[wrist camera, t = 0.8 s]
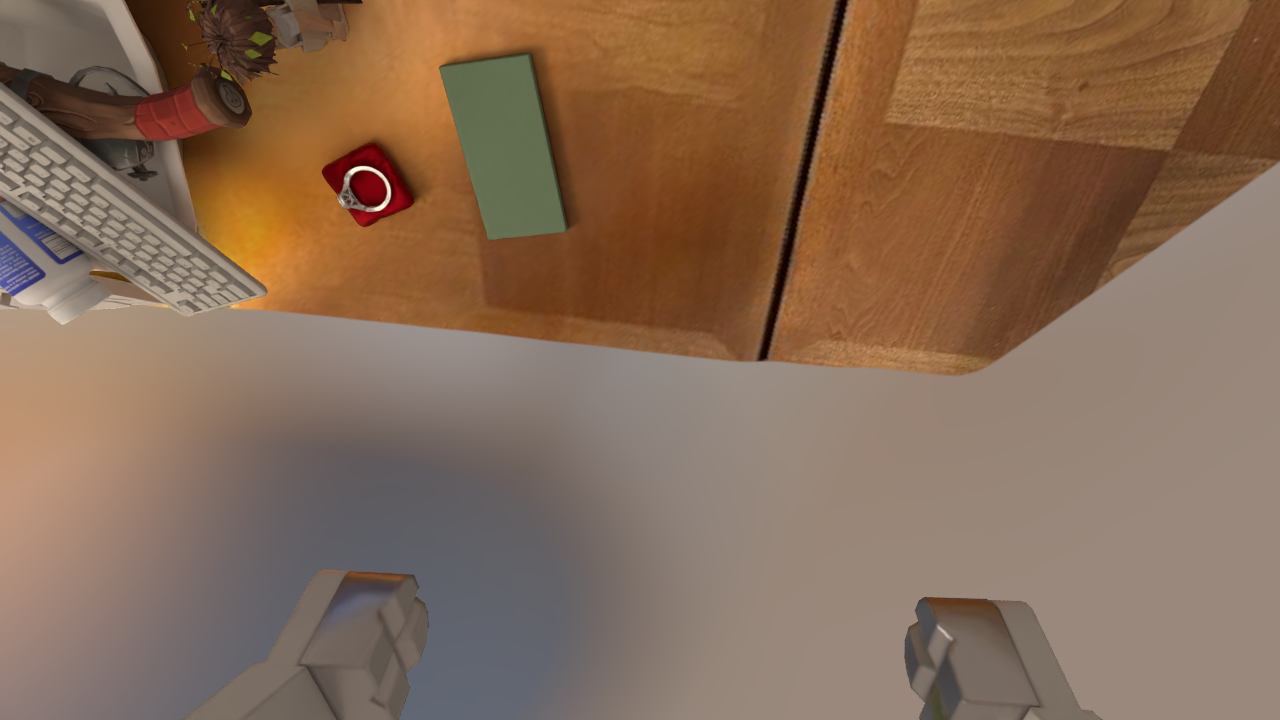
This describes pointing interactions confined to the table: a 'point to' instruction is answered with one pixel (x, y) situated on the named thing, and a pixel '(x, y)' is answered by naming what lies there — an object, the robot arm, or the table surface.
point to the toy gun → (131, 112)
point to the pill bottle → (45, 267)
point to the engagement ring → (368, 184)
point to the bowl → (97, 74)
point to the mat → (506, 145)
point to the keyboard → (111, 215)
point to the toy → (266, 30)
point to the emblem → (120, 297)
